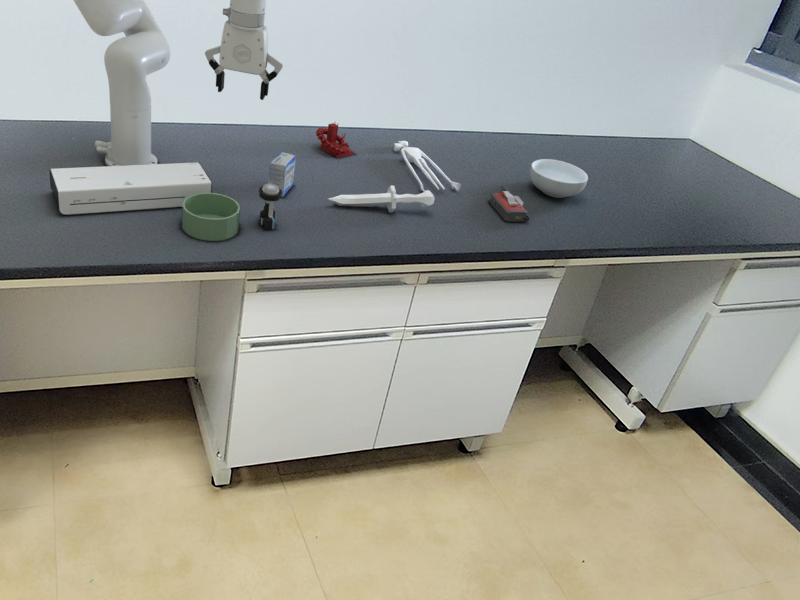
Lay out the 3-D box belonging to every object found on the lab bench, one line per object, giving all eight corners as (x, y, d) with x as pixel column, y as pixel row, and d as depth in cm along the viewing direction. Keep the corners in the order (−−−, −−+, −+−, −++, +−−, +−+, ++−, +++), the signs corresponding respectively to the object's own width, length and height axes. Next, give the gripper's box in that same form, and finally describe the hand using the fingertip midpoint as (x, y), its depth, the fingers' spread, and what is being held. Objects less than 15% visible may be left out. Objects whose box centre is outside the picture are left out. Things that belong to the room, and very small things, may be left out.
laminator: (58, 216, 169) (56, 191, 166) (50, 190, 177) (48, 166, 174) (211, 205, 185) (212, 182, 182) (196, 182, 194) (197, 159, 190)
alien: (413, 146, 239) (417, 132, 236) (458, 201, 217) (463, 185, 214) (378, 146, 234) (382, 131, 231) (420, 202, 212) (425, 186, 209)
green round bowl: (175, 235, 171) (175, 213, 168) (190, 209, 182) (190, 188, 179) (231, 244, 172) (233, 223, 169) (243, 219, 183) (244, 198, 180)
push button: (251, 217, 184) (254, 179, 179) (272, 216, 186) (276, 178, 181) (259, 231, 179) (263, 192, 174) (281, 229, 182) (285, 191, 176)
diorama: (353, 161, 221) (357, 134, 217) (311, 154, 220) (315, 126, 216) (355, 147, 230) (360, 120, 226) (316, 140, 229) (319, 113, 225)
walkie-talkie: (535, 224, 209) (504, 190, 224) (539, 210, 206) (508, 176, 222) (506, 224, 206) (477, 189, 221) (510, 209, 203) (481, 175, 218)
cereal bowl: (567, 181, 238) (574, 160, 234) (590, 206, 225) (597, 184, 221) (517, 177, 233) (523, 156, 230) (537, 203, 220) (544, 181, 216)
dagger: (327, 208, 192) (437, 204, 195) (325, 185, 193) (436, 181, 196) (326, 217, 199) (433, 213, 203) (325, 194, 200) (431, 190, 204)
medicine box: (283, 197, 195) (286, 166, 190) (266, 193, 196) (269, 162, 191) (293, 185, 202) (296, 155, 197) (276, 181, 202) (279, 150, 197)
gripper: (202, 14, 164) (199, 92, 173) (283, 30, 165) (276, 106, 174) (211, 6, 170) (207, 82, 179) (288, 21, 171) (281, 95, 181)
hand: (241, 94), depth 177 cm, fingers open, 9 cm apart
